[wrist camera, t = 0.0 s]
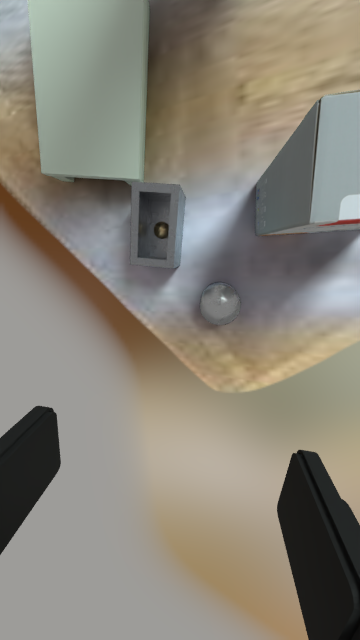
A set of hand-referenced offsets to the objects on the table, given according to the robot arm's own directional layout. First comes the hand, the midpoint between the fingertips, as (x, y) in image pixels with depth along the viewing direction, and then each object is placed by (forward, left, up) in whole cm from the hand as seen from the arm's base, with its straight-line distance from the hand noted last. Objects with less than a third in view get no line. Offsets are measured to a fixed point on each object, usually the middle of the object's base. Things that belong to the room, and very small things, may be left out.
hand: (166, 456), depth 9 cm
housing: (-10, -7, -31) cm, 34 cm away
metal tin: (0, +3, -31) cm, 31 cm away
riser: (-26, -17, -31) cm, 44 cm away
